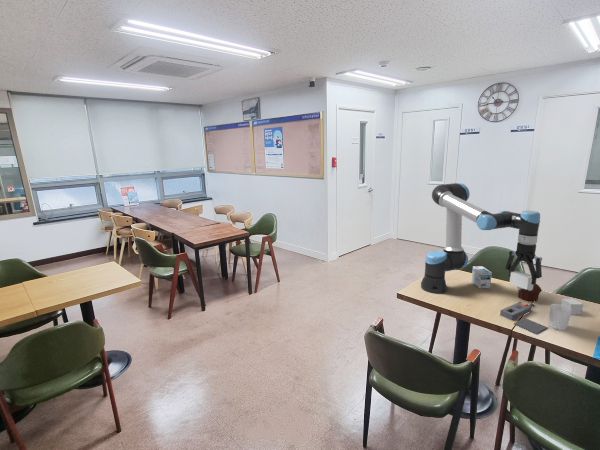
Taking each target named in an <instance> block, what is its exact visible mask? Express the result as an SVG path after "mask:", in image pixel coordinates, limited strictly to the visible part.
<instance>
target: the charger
mask: <svg viewBox="0 0 600 450" xmlns="http://www.w3.org/2000/svg"><path fill="white" fill-rule="evenodd" d="M514 271H515V272H512V273H511V278H510V277H509V283H510V284H509V285H512V286H515V287H517V290H520V289H526V290H527V289H528V287H529V280H530V277H532V276H531V274H529V273H525V272H522V271H518V270H514Z"/></svg>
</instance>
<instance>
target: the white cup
mask: <svg viewBox="0 0 600 450" xmlns="http://www.w3.org/2000/svg"><path fill="white" fill-rule="evenodd" d="M571 311H572V310H571V309H570V308H569V307H566V306H564V305H561V304H560V303H559V304H558V303H552V304H550V307H549V317H548V325H549V326H550V327H551V328H552V329H554V330H559V331H565V330H567V327H568V324H569V321H570V318H571Z"/></svg>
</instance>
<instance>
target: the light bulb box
mask: <svg viewBox="0 0 600 450" xmlns="http://www.w3.org/2000/svg"><path fill="white" fill-rule="evenodd" d="M492 274H493V272H492V271H490V270H489V269H487V268H486V267H484V266H482V265H481V266H478V265H477V266H475V265H474V266H472V274H471V282H470V283H473V284H474V285H475V287H478V288H479V289H491V283H492V276H493V275H492Z"/></svg>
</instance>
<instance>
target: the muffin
mask: <svg viewBox="0 0 600 450" xmlns="http://www.w3.org/2000/svg"><path fill="white" fill-rule="evenodd" d="M517 290H518V289H517ZM542 291H543V290H542V288H541V287H540V286H539V284H537V283H536V284H534V285H533V290H530V291H529V290H528V289H527V290H526V289H520V290H518V291H517V295H518V296H517V297H518V299H520V300H521V301H524V302H527V301H528V303H530V302H531V303H535V302H537V301H538V299H539V295H540V293H541V292H542ZM534 301H535V302H534Z"/></svg>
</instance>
